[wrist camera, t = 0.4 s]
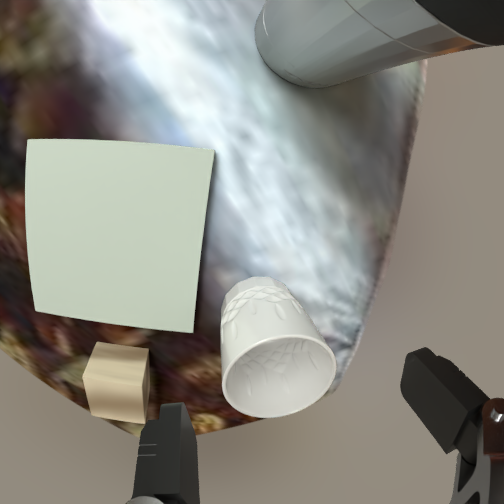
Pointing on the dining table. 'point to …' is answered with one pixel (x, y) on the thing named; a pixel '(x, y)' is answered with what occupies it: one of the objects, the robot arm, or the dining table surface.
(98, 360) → the beech cube
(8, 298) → the dining table surface
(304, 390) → the white cup
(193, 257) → the sage board
